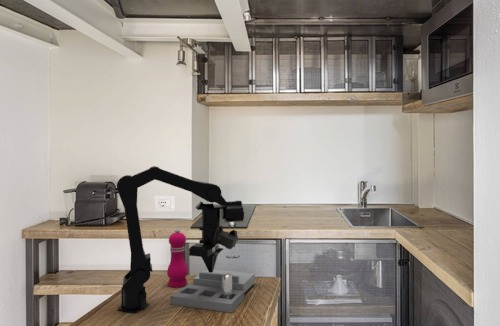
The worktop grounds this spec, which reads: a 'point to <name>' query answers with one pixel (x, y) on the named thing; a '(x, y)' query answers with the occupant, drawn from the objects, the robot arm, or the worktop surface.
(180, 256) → the pepper mill
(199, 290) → the hole board
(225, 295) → the pin
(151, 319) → the worktop surface
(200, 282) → the cover
